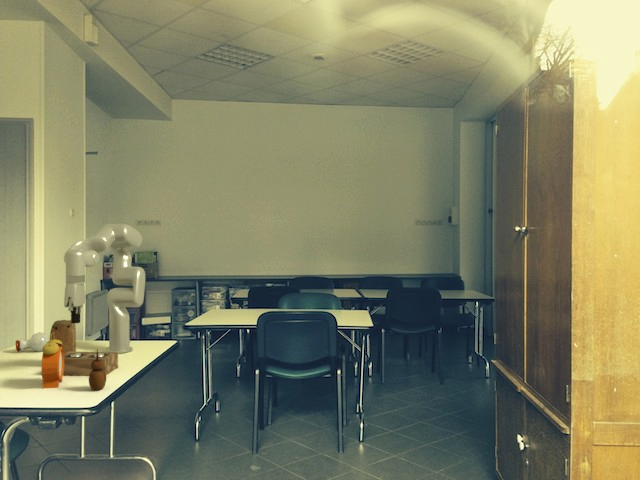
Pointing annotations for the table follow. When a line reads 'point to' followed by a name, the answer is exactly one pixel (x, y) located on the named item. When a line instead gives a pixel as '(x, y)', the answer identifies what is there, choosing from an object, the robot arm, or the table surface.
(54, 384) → the alarm clock
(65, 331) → the block
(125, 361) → the table surface
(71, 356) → the peg
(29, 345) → the potion bottle
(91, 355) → the socket block
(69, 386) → the table surface
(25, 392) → the table surface
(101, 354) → the peg
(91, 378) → the wooden figurine
